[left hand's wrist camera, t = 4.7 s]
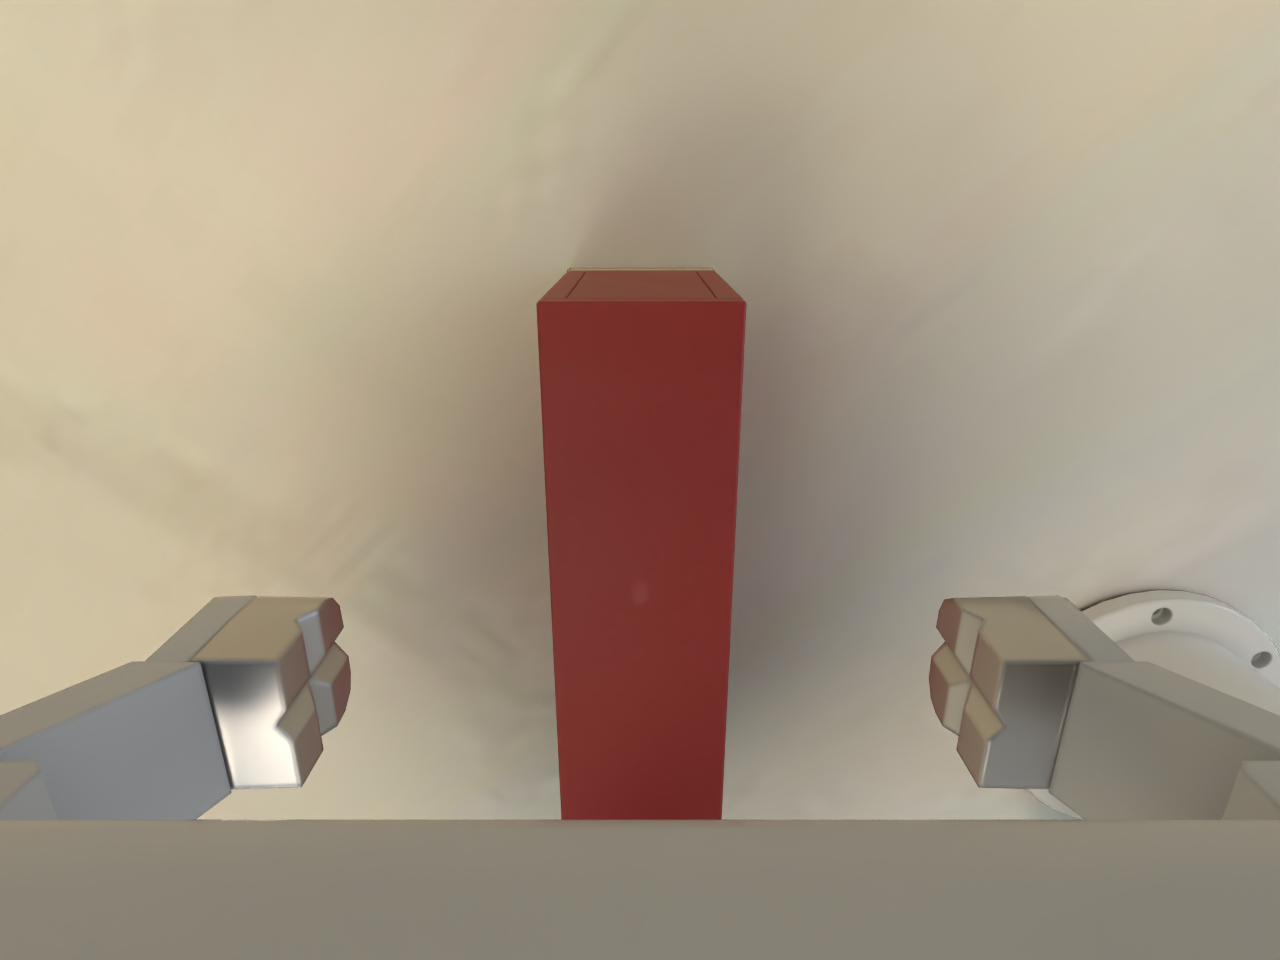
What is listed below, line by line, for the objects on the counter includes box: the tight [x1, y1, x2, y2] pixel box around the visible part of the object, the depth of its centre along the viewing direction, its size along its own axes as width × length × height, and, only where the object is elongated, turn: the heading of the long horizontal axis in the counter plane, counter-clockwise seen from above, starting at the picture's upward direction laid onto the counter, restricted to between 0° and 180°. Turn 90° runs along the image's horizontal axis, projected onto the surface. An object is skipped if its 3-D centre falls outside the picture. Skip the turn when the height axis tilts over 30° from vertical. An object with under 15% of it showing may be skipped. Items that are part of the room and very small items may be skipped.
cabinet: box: [537, 268, 746, 820], centre depth 28 cm, size 19×6×10 cm, turn 0°
